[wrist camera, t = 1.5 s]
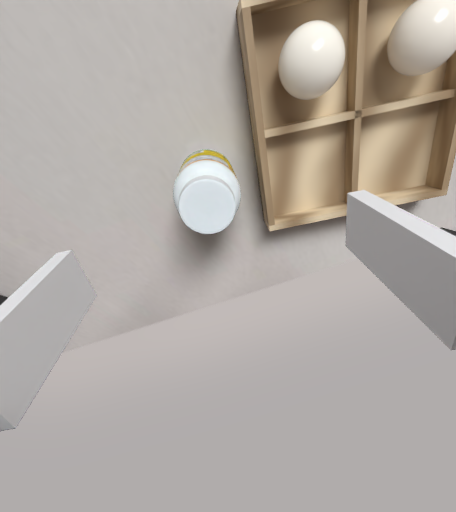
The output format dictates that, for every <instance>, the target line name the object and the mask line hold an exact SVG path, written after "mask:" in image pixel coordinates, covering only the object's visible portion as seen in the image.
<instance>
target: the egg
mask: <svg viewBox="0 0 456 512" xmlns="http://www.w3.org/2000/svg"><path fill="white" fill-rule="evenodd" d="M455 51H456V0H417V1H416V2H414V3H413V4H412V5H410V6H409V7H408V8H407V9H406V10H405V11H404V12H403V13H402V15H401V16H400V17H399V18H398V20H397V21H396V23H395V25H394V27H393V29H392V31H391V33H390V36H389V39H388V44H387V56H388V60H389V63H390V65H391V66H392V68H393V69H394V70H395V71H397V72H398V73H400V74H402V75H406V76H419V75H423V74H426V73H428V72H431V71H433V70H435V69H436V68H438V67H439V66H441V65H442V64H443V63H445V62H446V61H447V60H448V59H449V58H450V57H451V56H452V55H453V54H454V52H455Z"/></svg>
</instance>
